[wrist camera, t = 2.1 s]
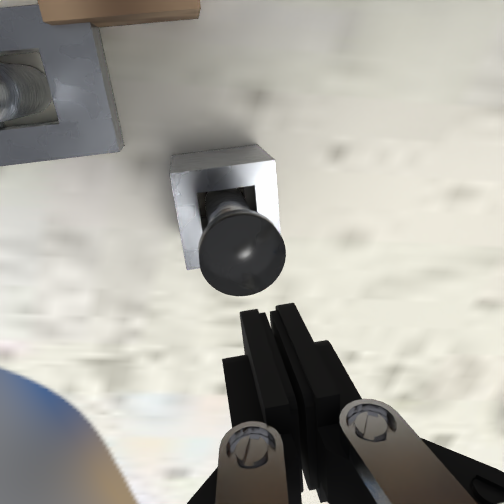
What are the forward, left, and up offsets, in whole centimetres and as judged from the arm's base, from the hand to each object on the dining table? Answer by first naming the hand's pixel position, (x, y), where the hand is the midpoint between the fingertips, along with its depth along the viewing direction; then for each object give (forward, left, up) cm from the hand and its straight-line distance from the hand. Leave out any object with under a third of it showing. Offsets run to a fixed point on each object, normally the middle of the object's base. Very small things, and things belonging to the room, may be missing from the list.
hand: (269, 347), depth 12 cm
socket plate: (+11, -8, -19) cm, 23 cm away
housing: (0, 0, -19) cm, 19 cm away
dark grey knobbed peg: (0, 0, -16) cm, 16 cm away
